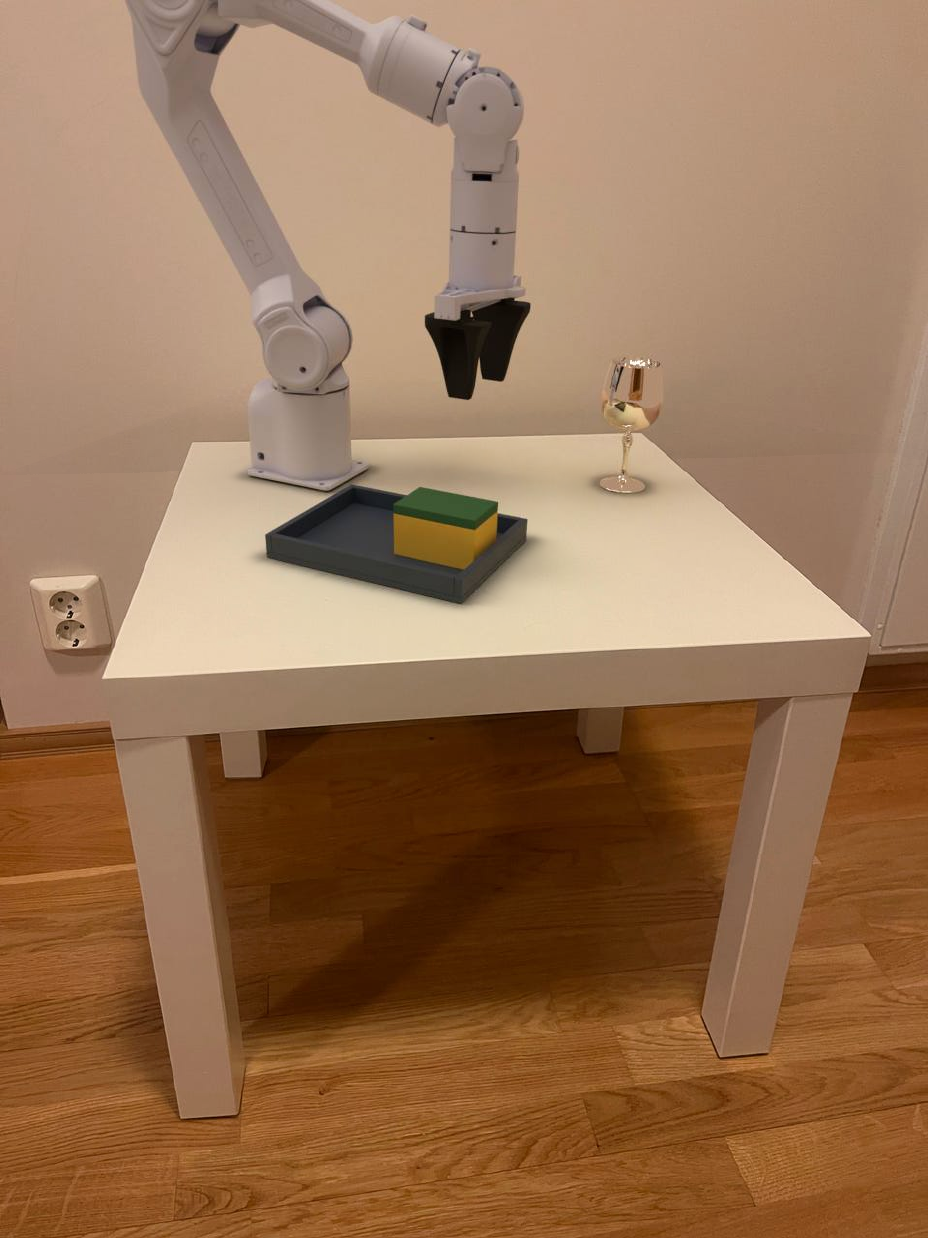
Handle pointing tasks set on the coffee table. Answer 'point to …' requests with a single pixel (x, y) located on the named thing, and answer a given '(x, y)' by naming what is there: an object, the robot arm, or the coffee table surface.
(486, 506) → the sponge
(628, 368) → the wineglass
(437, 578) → the tray
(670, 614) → the coffee table surface
